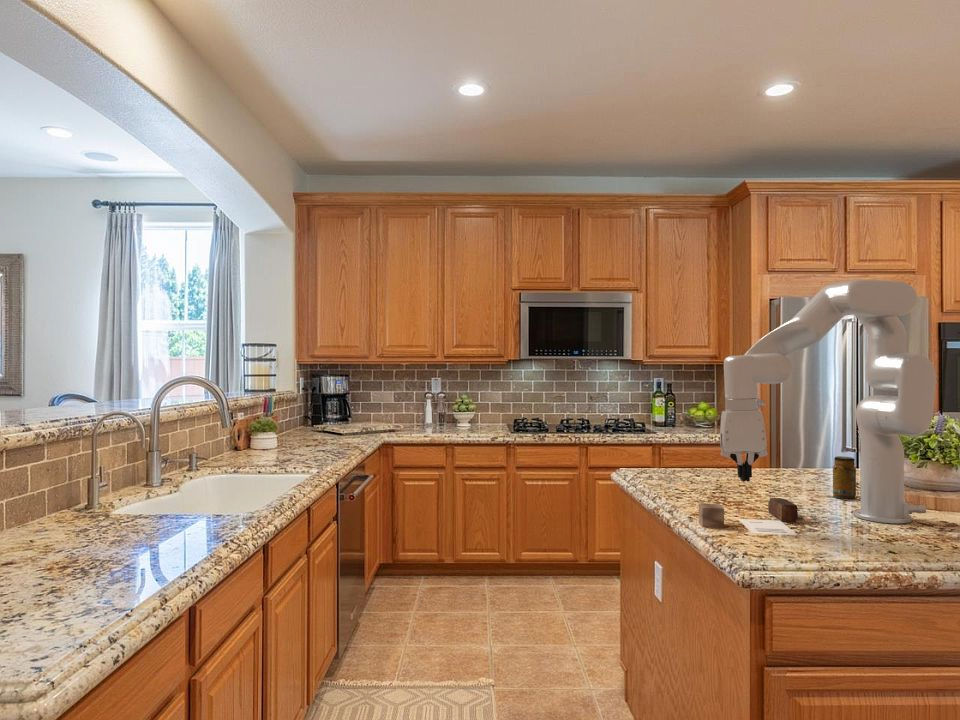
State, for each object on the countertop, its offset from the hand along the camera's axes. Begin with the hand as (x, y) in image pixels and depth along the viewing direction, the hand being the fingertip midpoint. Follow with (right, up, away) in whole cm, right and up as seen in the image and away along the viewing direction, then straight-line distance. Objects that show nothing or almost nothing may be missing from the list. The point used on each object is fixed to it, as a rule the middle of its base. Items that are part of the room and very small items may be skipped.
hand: (744, 480), depth 155 cm
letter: (+5, -11, -1) cm, 12 cm away
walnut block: (-8, -11, 0) cm, 14 cm away
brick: (+13, -12, +8) cm, 19 cm away
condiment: (+44, -12, +34) cm, 57 cm away
